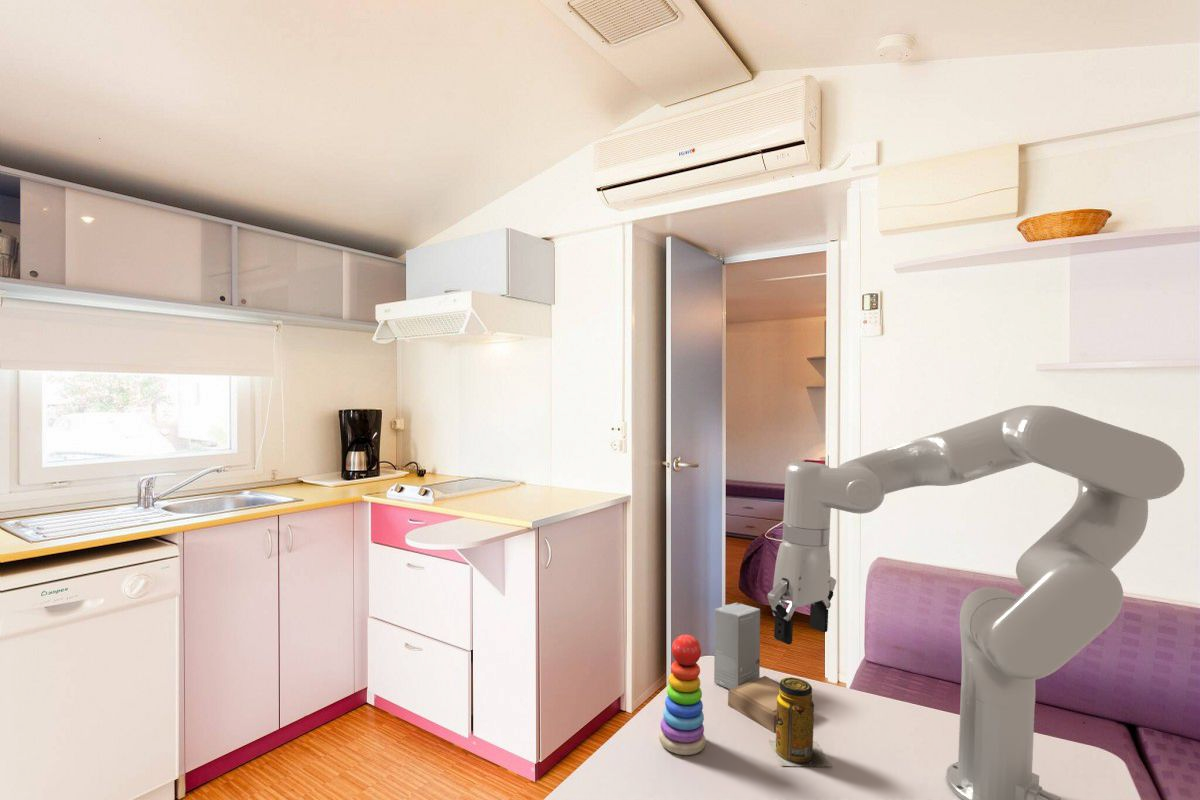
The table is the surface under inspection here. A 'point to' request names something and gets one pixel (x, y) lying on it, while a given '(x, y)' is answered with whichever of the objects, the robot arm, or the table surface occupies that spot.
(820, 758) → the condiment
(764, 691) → the base
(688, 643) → the stacking toy
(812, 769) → the table surface
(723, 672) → the skincare box
